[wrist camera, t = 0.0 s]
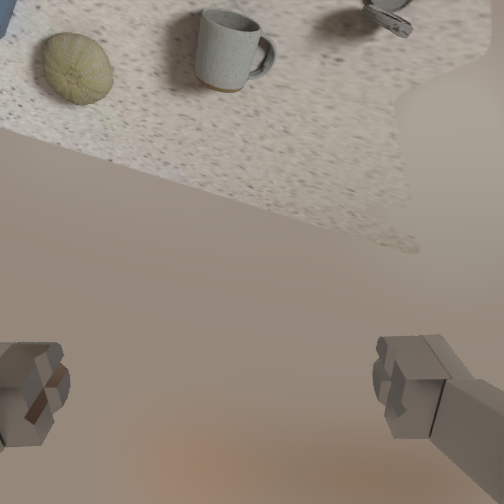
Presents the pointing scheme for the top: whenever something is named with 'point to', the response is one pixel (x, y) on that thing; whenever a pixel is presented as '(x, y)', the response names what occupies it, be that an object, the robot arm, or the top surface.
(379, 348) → the robot arm
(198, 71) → the ceramic mug
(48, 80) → the sea urchin shell
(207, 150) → the top surface
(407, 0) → the pocket watch
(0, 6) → the blue stepped bracket
